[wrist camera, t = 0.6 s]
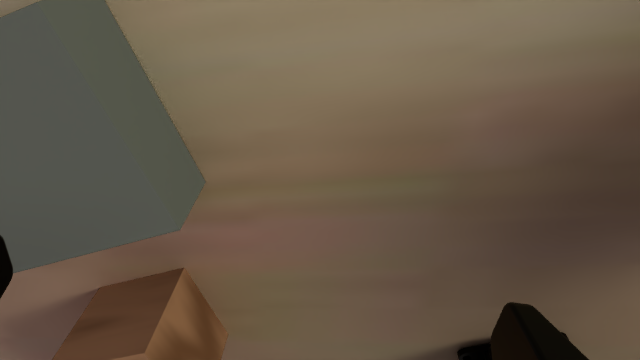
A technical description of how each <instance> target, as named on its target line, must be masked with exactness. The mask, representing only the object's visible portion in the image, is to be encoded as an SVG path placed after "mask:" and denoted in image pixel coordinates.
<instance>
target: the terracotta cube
mask: <svg viewBox="0 0 640 360" xmlns="http://www.w3.org/2000/svg"><path fill="white" fill-rule="evenodd" d="M227 337H228V333H227V332H226V330H225V329H224V327H223V326H222V324H221V323H220V321H219V320H218V318H217V317H216V315H215V314H214V312H213V311H212V309H211V307H210V306H209V304H208V303H207V301H206V300H205V298H204V297H203V295H202V294H201V292H200V291H199V289H198V288H197V286H196V285H195V283H194V282H193V280H192V279H191V277H190V276H189V274H188V272H187V271H186V269H185V268H181V269H177V270H172V271H168V272H164V273H160V274H155V275H151V276H147V277H143V278H139V279H134V280H130V281H126V282H122V283H117V284H113V285H109V286H105V287H101V288H99V290H98V291H97V293H96V294H95V296H94V297H93V299H92V300H91V302H90V303H89V305H88V306H87V308H86V309H85V311H84V312H83V314H82V315H81V317H80V318H79V320H78V321H77V323H76V324H75V326H74V327H73V329H72V330H71V332H70V333H69V335H68V336H67V338H66V339H65V341H64V343H63V344H62V346H61V347H60V349H59V350H58V352H57V353H56V355H55V356H54V358H53V359H52V360H221V357H222V354H223V350H224V347H225V343H226V340H227Z"/></svg>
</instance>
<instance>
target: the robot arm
mask: <svg viewBox="0 0 640 360" xmlns="http://www.w3.org/2000/svg"><path fill="white" fill-rule="evenodd" d="M12 275H13V265H12V262H11V259H10V256H9V253H8V250H7V247H6V244H5V241H4V239H3V237H2V236H1V235H0V298H1V297H2V295H3V293H4V292H5V290H6V288H7V287H8V285H9V283H10V281H11V279H12ZM458 359H459V360H589V359H588V358H587V357H586V356H584V355H583V354H582V353H581V352H580V351H579V350H578V349H577V348H576V347H575V346H574V345H573V344H572V343H571V342H570V341H569V339H568V337H567V335H566V334H565V333H562V332H560V331H558V330H557V329H556V328H555V327H554V326H553V325H552V324H551V323H550V322H549V321H548V320H547V319H546V318H545V317H544V316H543V315H542V314H541V313H540V312H539V311H538V310H537V309H536V308H534V307H533V306H531V305H528V304H521V303H514V302H510V303H507V304H506V305H505V306H504V308H503V310H502V312H501V314H500V317H499V319H498V321H497V323H496V325H495V328H494V330H493V332H492V336H491V344H485V345H478V346H472V347H466V348H462V349H460V350H459V351H458Z"/></svg>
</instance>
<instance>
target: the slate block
mask: <svg viewBox="0 0 640 360" xmlns="http://www.w3.org/2000/svg"><path fill="white" fill-rule="evenodd" d="M204 184H205V180H204V178H203V176H202V175H201V173H200V171H199V169H198V167H197V166H196V164H195V162H194V160H193V158H192V157H191V155H190V153H189V151H188V149H187V148H186V146H185V144H184V142H183V141H182V139H181V137H180V135H179V133H178V132H177V130H176V128H175V126H174V124H173V123H172V121H171V119H170V117H169V115H168V114H167V112H166V110H165V108H164V106H163V105H162V103H161V101H160V99H159V97H158V96H157V94H156V92H155V90H154V88H153V87H152V85H151V83H150V81H149V79H148V78H147V76H146V74H145V72H144V71H143V69H142V67H141V65H140V63H139V62H138V60H137V58H136V56H135V54H134V53H133V51H132V49H131V47H130V45H129V44H128V42H127V40H126V38H125V36H124V35H123V33H122V31H121V29H120V27H119V26H118V24H117V22H116V20H115V18H114V17H113V15H112V13H111V11H110V10H109V8H108V6H107V4H106V2H105V1H104V0H42V1H39V2H36V3H34V4H31V5H29V6H27V7H24V8H22V9H20V10H17V11H15V12H13V13H10V14H8V15H6V16H3V17H1V18H0V235H1V236H2V237H3V239H4V241H5V244H6V247H7V250H8V253H9V256H10V259H11V262H12V265H13V273H16V272H20V271H24V270H28V269H31V268H35V267H39V266H43V265H47V264H51V263H55V262H58V261H62V260H66V259H70V258H74V257H78V256H82V255H85V254H89V253H93V252H97V251H101V250H105V249H109V248H112V247H116V246H120V245H124V244H128V243H132V242H135V241H139V240H143V239H147V238H151V237H155V236H159V235H162V234H166V233H170V232H174V231H178V230H180V229H181V227H182V225H183V223H184V221H185V220H186V218H187V216H188V214H189V212H190V210H191V208H192V207H193V205H194V203H195V201H196V199H197V197H198V195H199V193H200V192H201V190H202V188H203V186H204Z"/></svg>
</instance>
